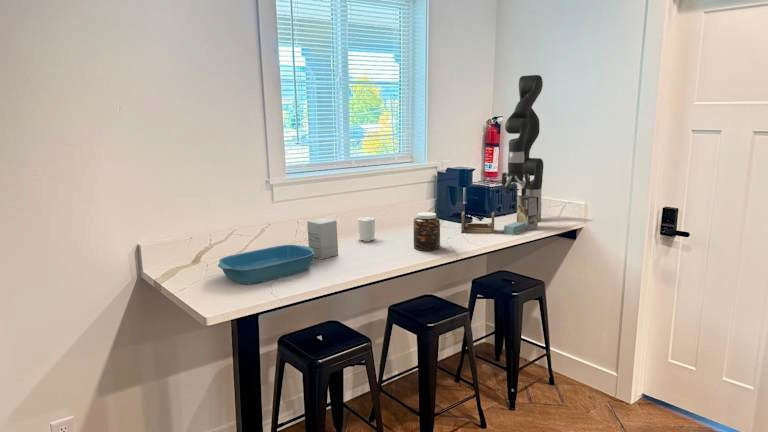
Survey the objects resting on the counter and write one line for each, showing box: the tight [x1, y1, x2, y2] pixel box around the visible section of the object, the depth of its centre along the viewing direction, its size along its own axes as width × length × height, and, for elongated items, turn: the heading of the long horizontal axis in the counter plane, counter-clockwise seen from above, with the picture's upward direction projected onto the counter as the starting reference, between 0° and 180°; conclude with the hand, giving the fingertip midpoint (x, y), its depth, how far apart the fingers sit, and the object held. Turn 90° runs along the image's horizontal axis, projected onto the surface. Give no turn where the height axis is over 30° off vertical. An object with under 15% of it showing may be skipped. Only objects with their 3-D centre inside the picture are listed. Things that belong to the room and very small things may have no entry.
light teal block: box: [503, 221, 526, 236], centre depth 252 cm, size 5×12×4 cm, turn 137°
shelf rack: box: [460, 211, 495, 235], centre depth 255 cm, size 9×16×9 cm, turn 79°
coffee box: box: [516, 195, 539, 231], centre depth 259 cm, size 9×6×16 cm
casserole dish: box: [217, 244, 314, 285], centre depth 194 cm, size 37×22×7 cm, turn 130°
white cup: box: [357, 216, 376, 242], centre depth 243 cm, size 8×8×10 cm
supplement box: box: [306, 217, 339, 260], centre depth 216 cm, size 9×9×15 cm
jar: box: [413, 211, 441, 252], centre depth 225 cm, size 12×12×15 cm
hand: (515, 195), depth 249 cm, fingers open, 8 cm apart
